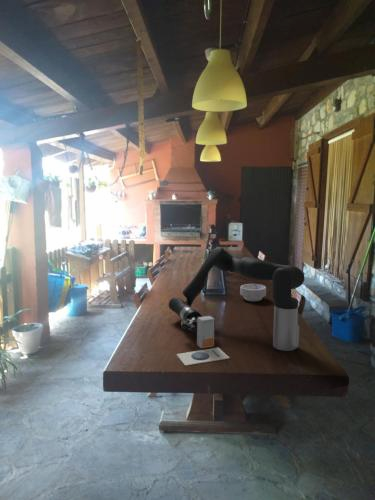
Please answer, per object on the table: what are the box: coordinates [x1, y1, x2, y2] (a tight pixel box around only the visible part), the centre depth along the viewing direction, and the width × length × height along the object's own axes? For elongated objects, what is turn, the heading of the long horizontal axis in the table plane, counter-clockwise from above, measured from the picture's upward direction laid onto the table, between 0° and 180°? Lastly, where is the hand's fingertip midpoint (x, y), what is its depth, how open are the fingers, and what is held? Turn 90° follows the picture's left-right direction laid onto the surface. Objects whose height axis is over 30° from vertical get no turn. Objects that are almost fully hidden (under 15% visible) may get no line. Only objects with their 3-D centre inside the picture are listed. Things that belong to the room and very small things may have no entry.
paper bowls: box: [239, 283, 267, 302], centre depth 218 cm, size 15×15×8 cm
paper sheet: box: [175, 347, 230, 367], centre depth 141 cm, size 18×10×1 cm, turn 110°
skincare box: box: [196, 315, 215, 349], centre depth 150 cm, size 6×4×12 cm
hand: (204, 328), depth 151 cm, fingers open, 8 cm apart
